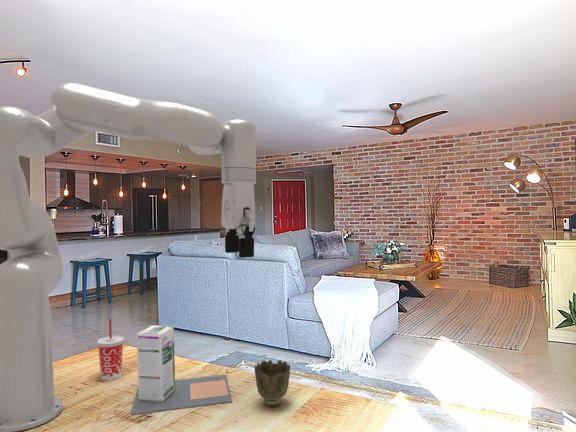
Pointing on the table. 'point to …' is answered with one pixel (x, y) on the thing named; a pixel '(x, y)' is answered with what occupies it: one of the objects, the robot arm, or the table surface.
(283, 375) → the cup
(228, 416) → the table surface
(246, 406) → the table surface
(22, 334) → the robot arm
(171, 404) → the mat
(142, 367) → the syrup box
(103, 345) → the beverage cup
